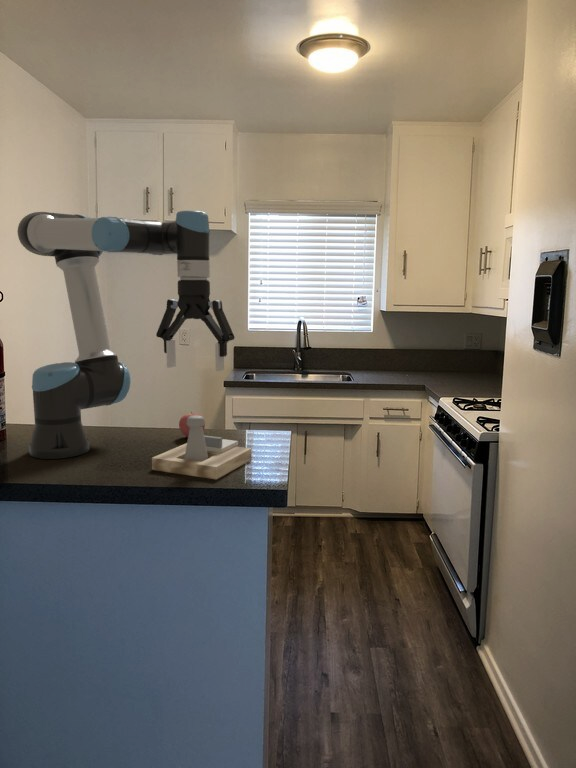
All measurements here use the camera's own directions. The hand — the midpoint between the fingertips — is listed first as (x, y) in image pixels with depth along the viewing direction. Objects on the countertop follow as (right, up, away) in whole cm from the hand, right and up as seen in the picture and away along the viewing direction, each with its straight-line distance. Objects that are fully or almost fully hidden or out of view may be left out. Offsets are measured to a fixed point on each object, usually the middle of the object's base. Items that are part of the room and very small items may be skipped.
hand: (195, 368), depth 151 cm
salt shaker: (0, -25, +4) cm, 25 cm away
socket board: (+1, -24, +7) cm, 25 cm away
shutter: (+4, -20, +12) cm, 24 cm away
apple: (-6, -20, +33) cm, 39 cm away
